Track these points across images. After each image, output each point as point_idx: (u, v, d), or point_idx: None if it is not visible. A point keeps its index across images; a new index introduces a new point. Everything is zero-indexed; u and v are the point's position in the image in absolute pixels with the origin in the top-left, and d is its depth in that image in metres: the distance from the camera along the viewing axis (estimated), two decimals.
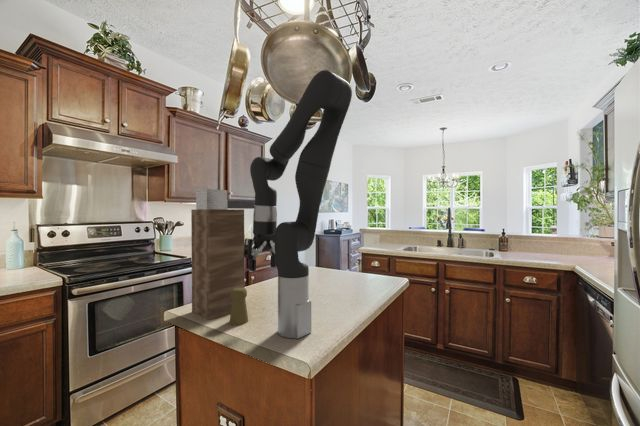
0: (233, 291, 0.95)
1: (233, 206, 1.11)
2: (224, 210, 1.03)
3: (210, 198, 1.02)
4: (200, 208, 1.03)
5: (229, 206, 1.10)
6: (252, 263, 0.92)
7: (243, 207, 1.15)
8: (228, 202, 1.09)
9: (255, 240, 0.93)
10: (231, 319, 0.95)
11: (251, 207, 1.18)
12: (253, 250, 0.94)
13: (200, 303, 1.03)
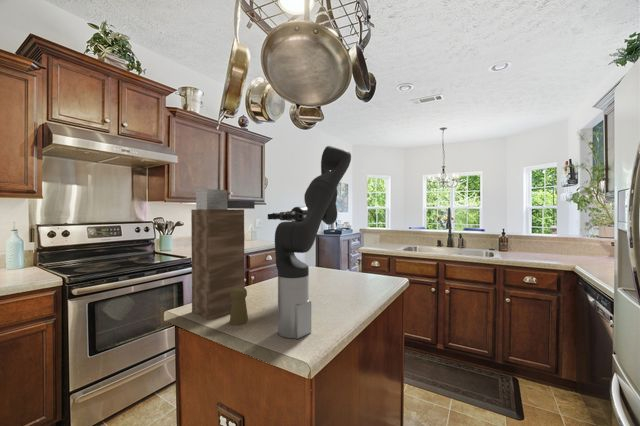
0: (233, 291, 0.95)
1: (233, 206, 1.11)
2: (224, 210, 1.03)
3: (210, 198, 1.02)
4: (200, 208, 1.03)
5: (229, 206, 1.10)
6: None
7: (243, 207, 1.15)
8: (228, 202, 1.09)
9: None
10: (231, 319, 0.95)
11: (251, 207, 1.18)
12: None
13: (200, 303, 1.03)
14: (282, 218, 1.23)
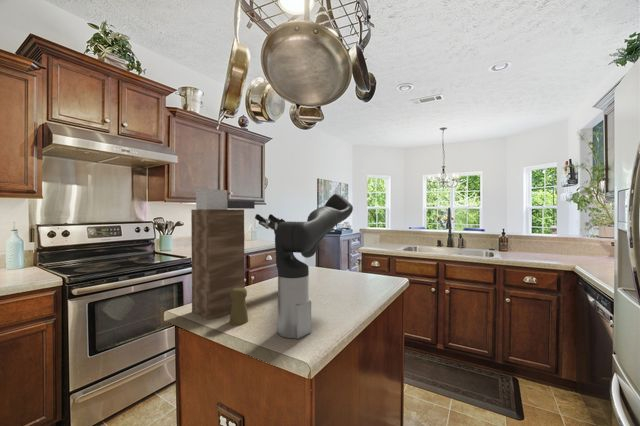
0: (233, 291, 0.95)
1: (233, 206, 1.11)
2: (224, 210, 1.03)
3: (210, 198, 1.02)
4: (200, 208, 1.03)
5: (229, 206, 1.10)
6: None
7: (243, 207, 1.15)
8: (228, 202, 1.09)
9: None
10: (231, 319, 0.95)
11: (251, 207, 1.18)
12: None
13: (200, 303, 1.03)
14: (267, 227, 1.33)
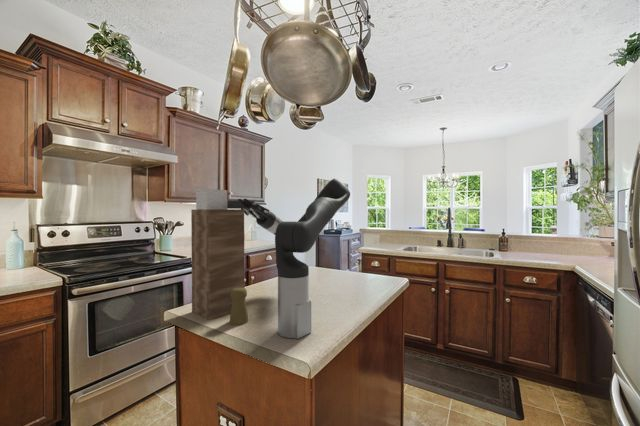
0: (233, 291, 0.95)
1: (233, 206, 1.11)
2: (224, 210, 1.03)
3: (210, 198, 1.02)
4: (200, 208, 1.03)
5: (229, 206, 1.10)
6: None
7: (243, 207, 1.15)
8: (228, 202, 1.09)
9: None
10: (231, 319, 0.95)
11: None
12: None
13: (200, 303, 1.03)
14: (248, 214, 1.24)
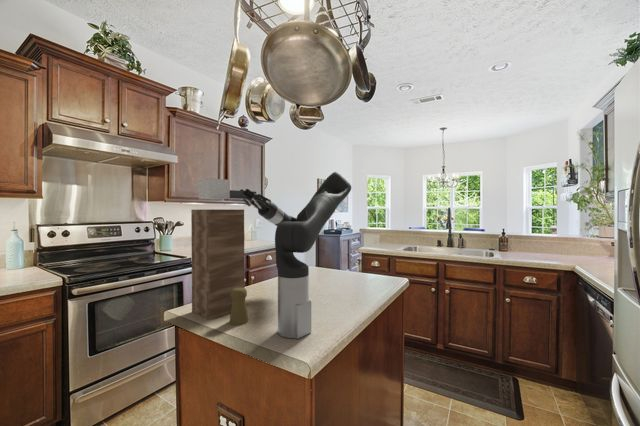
0: (233, 291, 0.95)
1: (235, 196, 1.12)
2: (224, 210, 1.03)
3: (213, 187, 1.02)
4: (203, 197, 1.04)
5: (231, 196, 1.11)
6: None
7: (245, 197, 1.16)
8: (230, 192, 1.10)
9: None
10: (231, 319, 0.95)
11: None
12: None
13: (200, 303, 1.03)
14: (250, 205, 1.25)
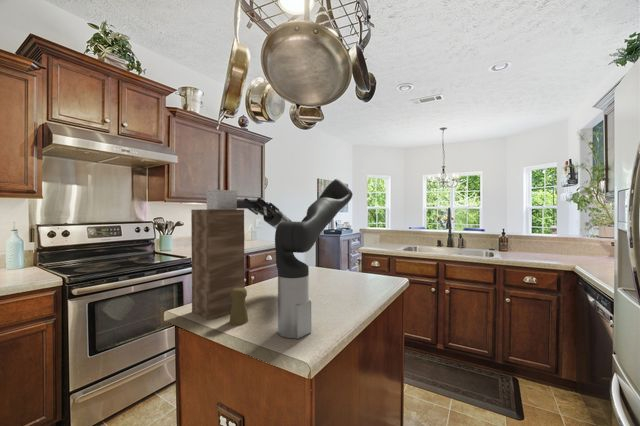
0: (233, 291, 0.95)
1: (242, 206, 1.14)
2: (224, 210, 1.03)
3: (221, 198, 1.05)
4: (210, 208, 1.06)
5: (238, 206, 1.13)
6: None
7: (251, 207, 1.18)
8: (237, 202, 1.13)
9: None
10: (231, 319, 0.95)
11: (259, 207, 1.21)
12: None
13: (200, 303, 1.03)
14: (256, 212, 1.28)
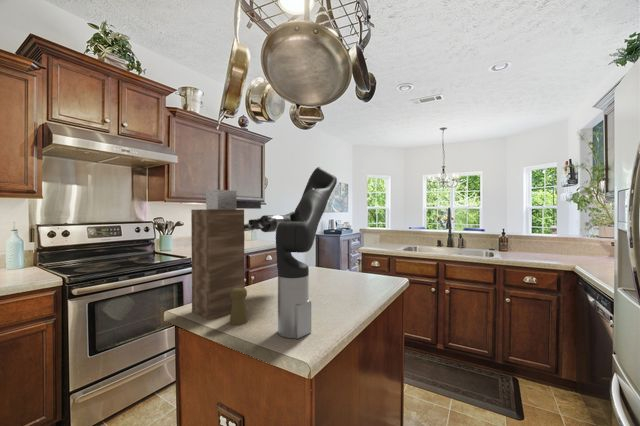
0: (233, 291, 0.95)
1: (241, 206, 1.14)
2: (224, 210, 1.03)
3: (221, 198, 1.05)
4: (210, 208, 1.06)
5: (237, 206, 1.13)
6: None
7: (250, 207, 1.18)
8: (237, 202, 1.13)
9: None
10: (231, 319, 0.95)
11: (258, 207, 1.21)
12: None
13: (200, 303, 1.03)
14: None
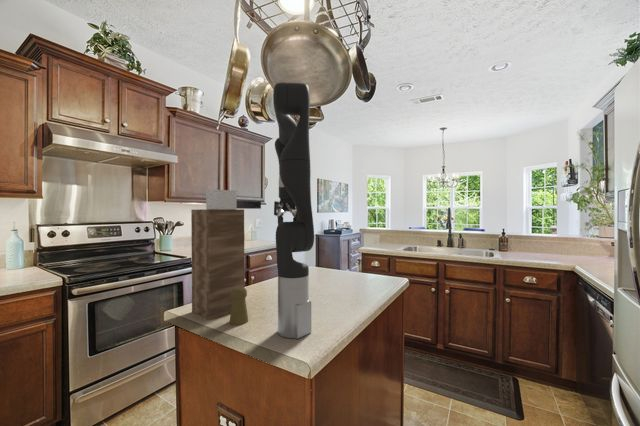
0: (233, 291, 0.95)
1: (241, 206, 1.14)
2: (224, 210, 1.03)
3: (221, 198, 1.05)
4: (210, 208, 1.06)
5: (237, 206, 1.13)
6: (278, 219, 1.23)
7: (250, 207, 1.18)
8: (237, 202, 1.13)
9: None
10: (231, 319, 0.95)
11: (258, 207, 1.21)
12: None
13: (200, 303, 1.03)
14: None
